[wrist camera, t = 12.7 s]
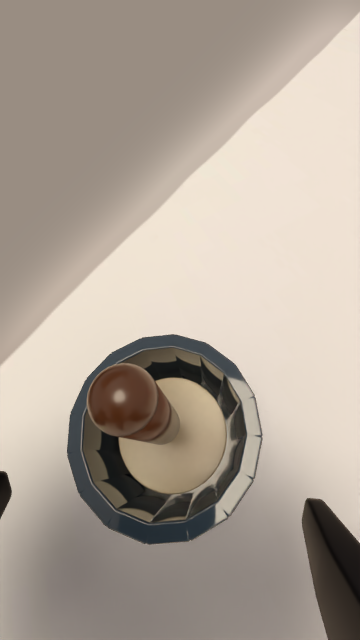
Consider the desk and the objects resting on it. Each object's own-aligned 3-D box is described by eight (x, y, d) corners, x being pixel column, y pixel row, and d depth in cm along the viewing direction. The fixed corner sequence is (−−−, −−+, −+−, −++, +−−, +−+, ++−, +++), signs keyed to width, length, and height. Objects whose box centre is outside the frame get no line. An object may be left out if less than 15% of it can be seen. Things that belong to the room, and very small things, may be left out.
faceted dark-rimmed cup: (187, 536, 16) (171, 606, 9) (99, 443, 18) (29, 436, 11) (261, 429, 18) (300, 411, 11) (174, 358, 20) (156, 304, 13)
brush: (184, 508, 16) (106, 696, 4) (118, 441, 17) (-86, 411, 5) (240, 430, 17) (324, 371, 5) (174, 375, 19) (116, 231, 7)
